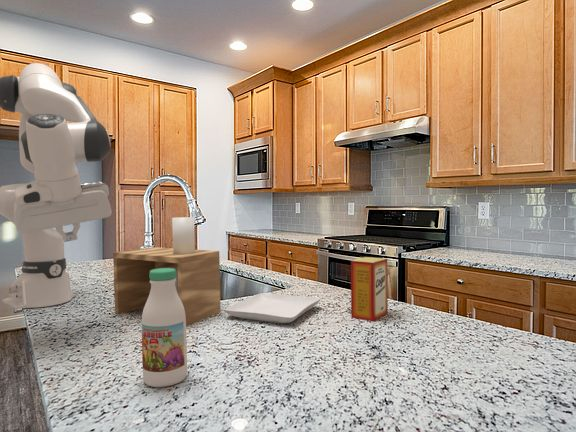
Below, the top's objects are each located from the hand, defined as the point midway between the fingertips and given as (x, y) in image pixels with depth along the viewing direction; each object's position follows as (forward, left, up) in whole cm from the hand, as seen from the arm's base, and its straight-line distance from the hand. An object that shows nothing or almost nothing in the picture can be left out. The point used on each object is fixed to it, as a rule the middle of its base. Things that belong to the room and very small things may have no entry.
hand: (70, 239), depth 96 cm
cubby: (+8, +24, -23) cm, 34 cm away
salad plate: (+36, +38, -24) cm, 57 cm away
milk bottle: (+40, -7, -24) cm, 47 cm away
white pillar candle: (+15, +24, -5) cm, 28 cm away
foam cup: (+8, +23, -24) cm, 34 cm away
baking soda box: (+61, +48, -24) cm, 81 cm away
